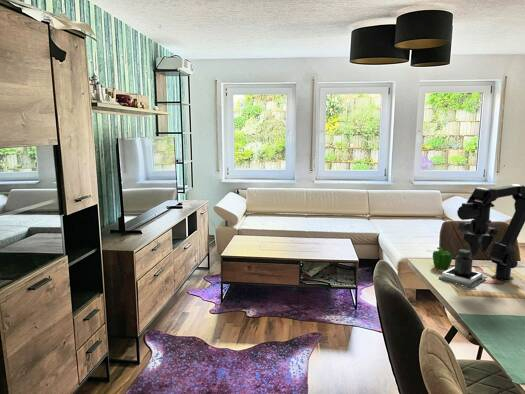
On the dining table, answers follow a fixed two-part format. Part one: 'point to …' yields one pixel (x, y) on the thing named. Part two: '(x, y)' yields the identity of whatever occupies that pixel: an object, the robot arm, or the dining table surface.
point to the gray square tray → (462, 278)
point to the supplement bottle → (463, 264)
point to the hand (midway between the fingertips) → (478, 253)
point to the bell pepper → (442, 259)
